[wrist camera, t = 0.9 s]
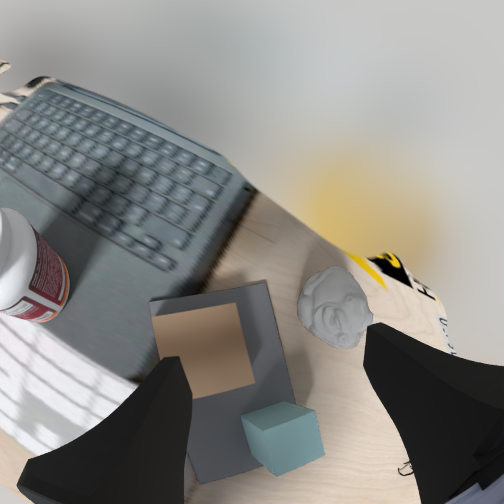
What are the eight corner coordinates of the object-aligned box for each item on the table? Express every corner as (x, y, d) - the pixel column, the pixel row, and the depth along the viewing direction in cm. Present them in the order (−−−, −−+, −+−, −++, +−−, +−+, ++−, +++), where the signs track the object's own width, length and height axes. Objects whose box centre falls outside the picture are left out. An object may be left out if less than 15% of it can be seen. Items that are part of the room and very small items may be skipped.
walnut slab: (242, 379, 21) (255, 383, 18) (169, 395, 18) (171, 403, 16) (225, 308, 22) (235, 302, 20) (152, 321, 20) (151, 316, 17)
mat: (304, 446, 20) (306, 448, 20) (199, 482, 17) (199, 484, 16) (263, 283, 25) (265, 282, 24) (148, 302, 21) (148, 302, 20)
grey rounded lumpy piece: (280, 350, 23) (325, 348, 17) (282, 273, 26) (324, 247, 19) (337, 351, 25) (389, 346, 19) (336, 281, 27) (383, 260, 21)
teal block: (293, 439, 20) (324, 454, 16) (251, 455, 19) (275, 476, 14) (284, 401, 21) (314, 410, 17) (240, 415, 20) (262, 431, 15)
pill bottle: (39, 237, 19) (-16, 164, 9) (85, 279, 20) (36, 220, 10) (1, 292, 16) (-73, 249, 6) (46, 339, 17) (-30, 325, 7)
